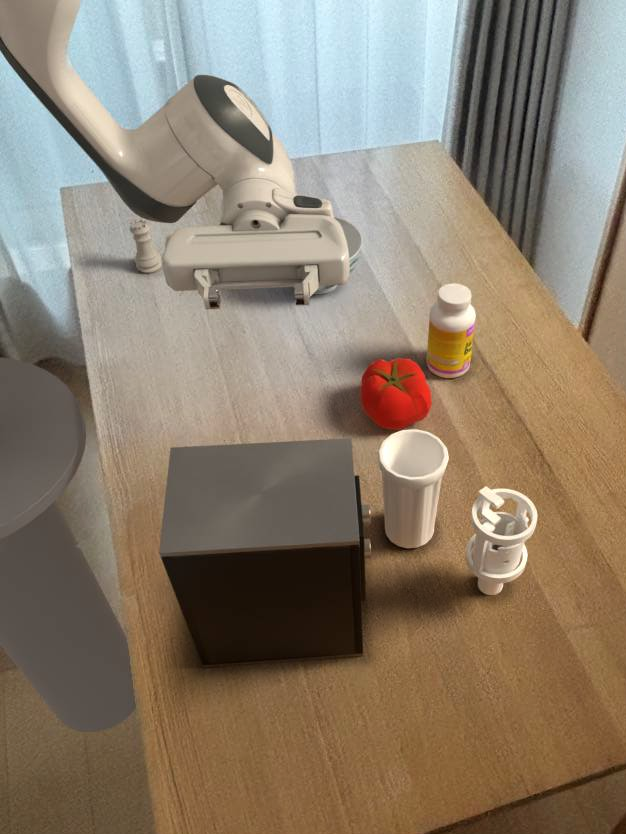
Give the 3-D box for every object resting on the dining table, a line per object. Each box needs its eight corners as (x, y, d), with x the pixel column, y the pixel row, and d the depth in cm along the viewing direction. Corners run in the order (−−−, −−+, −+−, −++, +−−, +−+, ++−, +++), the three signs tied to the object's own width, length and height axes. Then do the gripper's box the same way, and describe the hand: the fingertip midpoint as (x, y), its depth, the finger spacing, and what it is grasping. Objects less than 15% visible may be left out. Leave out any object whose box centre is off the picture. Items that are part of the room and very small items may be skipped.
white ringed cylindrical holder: (489, 551, 99) (504, 471, 87) (531, 586, 96) (552, 508, 84) (449, 582, 96) (459, 504, 84) (491, 619, 93) (508, 544, 81)
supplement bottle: (466, 383, 118) (475, 311, 107) (422, 376, 118) (427, 304, 108) (472, 354, 121) (481, 282, 111) (430, 348, 122) (434, 276, 112)
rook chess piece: (168, 263, 133) (158, 219, 127) (153, 277, 131) (141, 233, 125) (146, 256, 134) (135, 212, 128) (131, 270, 132) (118, 226, 126)
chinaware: (347, 249, 137) (345, 207, 131) (375, 299, 129) (375, 257, 123) (262, 265, 134) (257, 223, 128) (286, 318, 125) (281, 276, 119)
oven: (203, 667, 88) (158, 553, 71) (208, 572, 96) (170, 447, 78) (376, 655, 90) (375, 539, 72) (368, 562, 98) (366, 437, 80)
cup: (396, 497, 104) (398, 419, 92) (451, 520, 102) (460, 443, 90) (366, 540, 100) (364, 464, 88) (423, 565, 97) (429, 490, 86)
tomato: (417, 379, 118) (419, 344, 112) (436, 431, 111) (439, 396, 106) (353, 389, 116) (352, 354, 111) (369, 442, 110) (368, 407, 105)
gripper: (160, 205, 88) (149, 280, 80) (344, 199, 89) (351, 272, 81) (172, 255, 93) (163, 330, 85) (346, 249, 95) (353, 322, 86)
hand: (257, 302), depth 83 cm, fingers open, 8 cm apart
